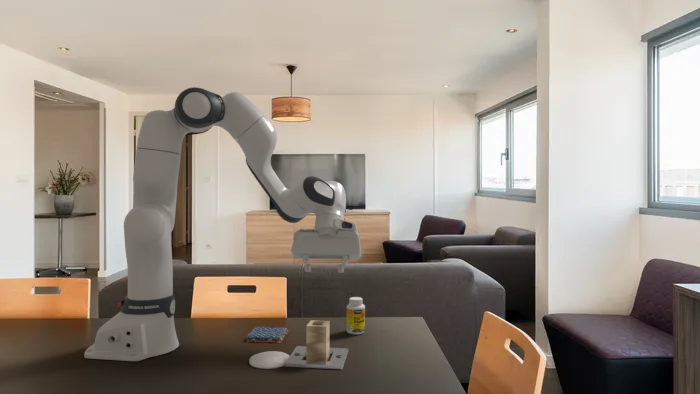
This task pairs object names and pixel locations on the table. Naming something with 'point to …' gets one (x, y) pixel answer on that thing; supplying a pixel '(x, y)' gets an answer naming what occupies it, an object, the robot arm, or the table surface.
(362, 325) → the supplement bottle
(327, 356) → the block
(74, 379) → the table surface
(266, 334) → the woven mat
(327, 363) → the rail plate
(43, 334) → the table surface
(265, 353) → the pad
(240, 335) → the table surface
